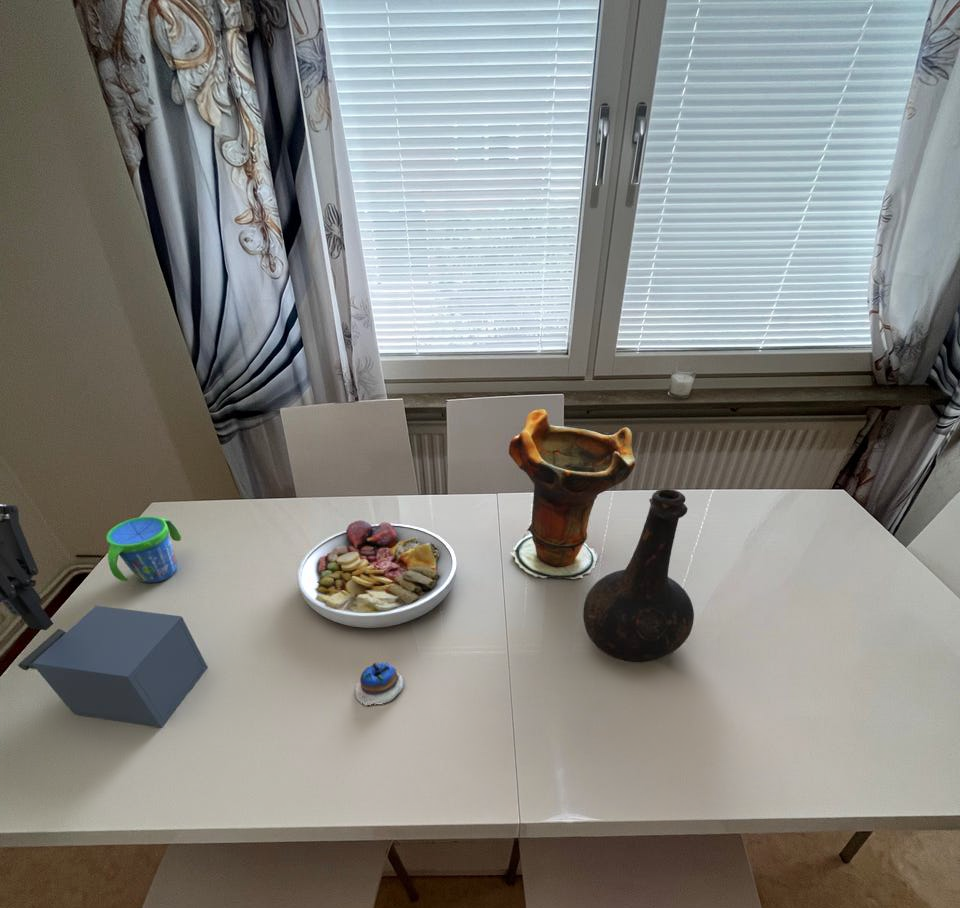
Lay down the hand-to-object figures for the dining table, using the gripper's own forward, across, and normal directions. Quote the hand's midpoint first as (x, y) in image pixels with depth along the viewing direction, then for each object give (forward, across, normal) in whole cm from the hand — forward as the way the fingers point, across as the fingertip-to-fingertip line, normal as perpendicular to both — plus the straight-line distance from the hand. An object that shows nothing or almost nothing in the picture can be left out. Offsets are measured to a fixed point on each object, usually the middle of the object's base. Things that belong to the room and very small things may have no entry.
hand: (41, 625), depth 78 cm
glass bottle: (+13, +25, -88) cm, 92 cm away
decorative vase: (+13, +49, -74) cm, 89 cm away
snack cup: (+12, +29, +6) cm, 32 cm away
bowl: (+13, +33, -40) cm, 53 cm away
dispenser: (+12, 0, -11) cm, 16 cm away
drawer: (+11, 0, -6) cm, 13 cm away
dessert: (+13, +7, -48) cm, 50 cm away
